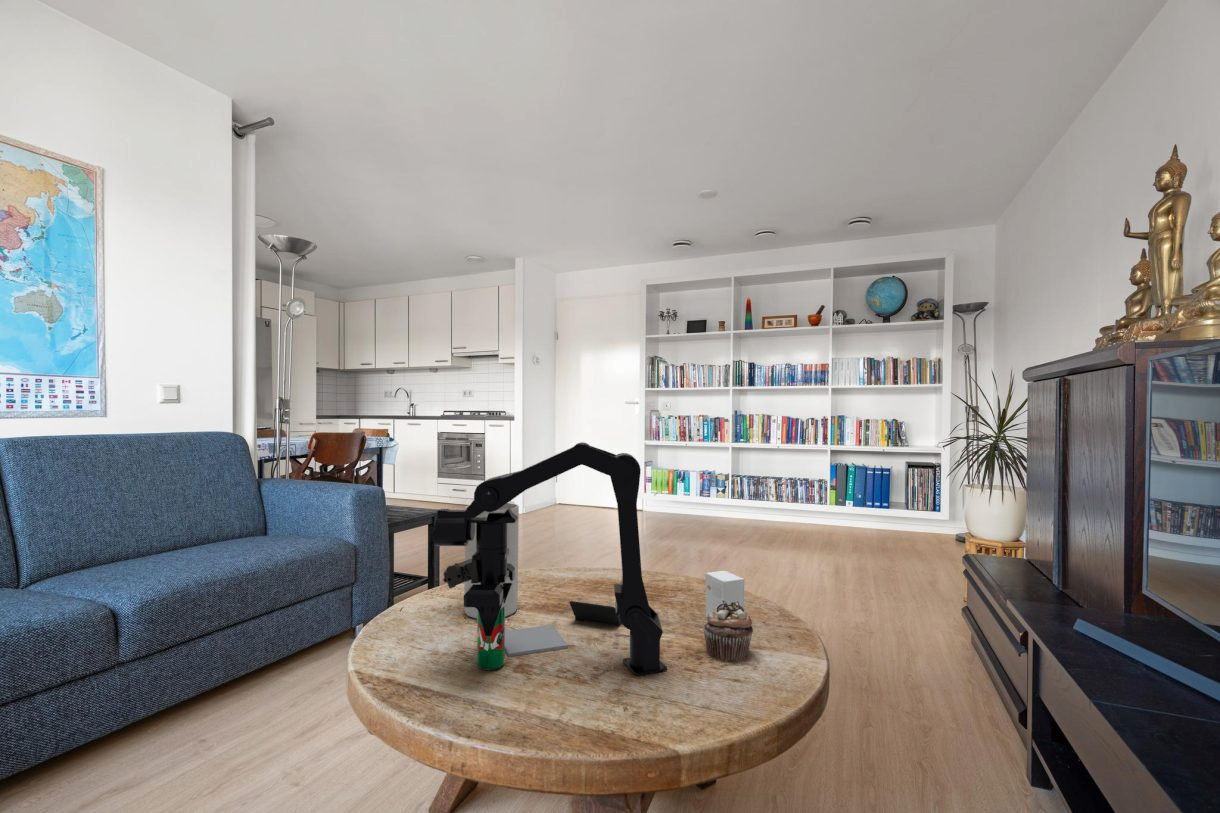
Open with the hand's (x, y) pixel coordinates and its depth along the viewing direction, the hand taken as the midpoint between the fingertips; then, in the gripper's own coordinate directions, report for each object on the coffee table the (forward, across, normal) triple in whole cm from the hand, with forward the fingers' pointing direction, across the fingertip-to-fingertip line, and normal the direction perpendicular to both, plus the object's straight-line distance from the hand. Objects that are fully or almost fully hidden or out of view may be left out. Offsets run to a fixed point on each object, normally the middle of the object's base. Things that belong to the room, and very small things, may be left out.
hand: (491, 629), depth 106 cm
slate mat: (+7, -12, +6) cm, 15 cm away
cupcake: (+7, -6, +46) cm, 47 cm away
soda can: (+7, 0, 0) cm, 7 cm away
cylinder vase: (+7, -30, -6) cm, 31 cm away
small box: (+7, -23, +49) cm, 55 cm away
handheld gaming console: (+7, -23, +20) cm, 32 cm away
